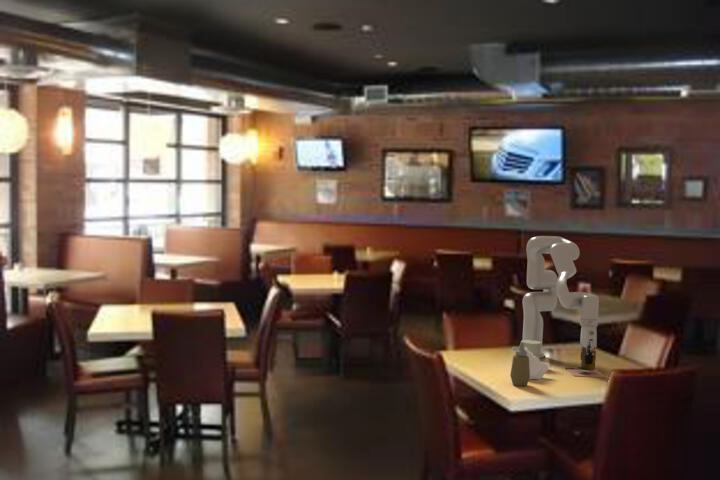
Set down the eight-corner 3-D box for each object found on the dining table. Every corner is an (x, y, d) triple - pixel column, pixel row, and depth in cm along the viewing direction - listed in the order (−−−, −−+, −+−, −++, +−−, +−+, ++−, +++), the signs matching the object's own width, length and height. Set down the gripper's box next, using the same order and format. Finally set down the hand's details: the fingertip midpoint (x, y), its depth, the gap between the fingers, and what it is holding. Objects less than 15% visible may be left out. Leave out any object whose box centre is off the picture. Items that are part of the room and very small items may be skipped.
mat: (573, 376, 345) (573, 375, 345) (566, 370, 357) (566, 369, 357) (605, 377, 345) (605, 376, 345) (597, 371, 357) (597, 370, 357)
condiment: (599, 370, 350) (600, 343, 349) (586, 371, 345) (587, 345, 344) (586, 366, 356) (587, 340, 355) (573, 368, 351) (575, 342, 351)
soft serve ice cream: (539, 385, 332) (536, 355, 328) (506, 383, 340) (502, 352, 336) (548, 373, 342) (545, 343, 338) (516, 370, 350) (512, 341, 346)
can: (541, 365, 364) (543, 340, 364) (537, 369, 356) (538, 343, 355) (522, 363, 368) (523, 338, 367) (517, 366, 360) (518, 341, 359)
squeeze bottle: (507, 382, 329) (509, 340, 328) (526, 382, 330) (528, 340, 328) (512, 387, 321) (515, 343, 320) (532, 387, 321) (534, 344, 320)
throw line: (565, 369, 359) (565, 368, 359) (565, 368, 360) (565, 367, 360) (596, 370, 359) (596, 369, 359) (595, 369, 360) (595, 368, 360)
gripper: (603, 326, 341) (600, 366, 342) (591, 319, 358) (589, 358, 359) (585, 325, 341) (583, 366, 342) (575, 318, 358) (573, 357, 359)
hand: (586, 361), depth 351 cm, fingers closed on condiment, 6 cm apart
